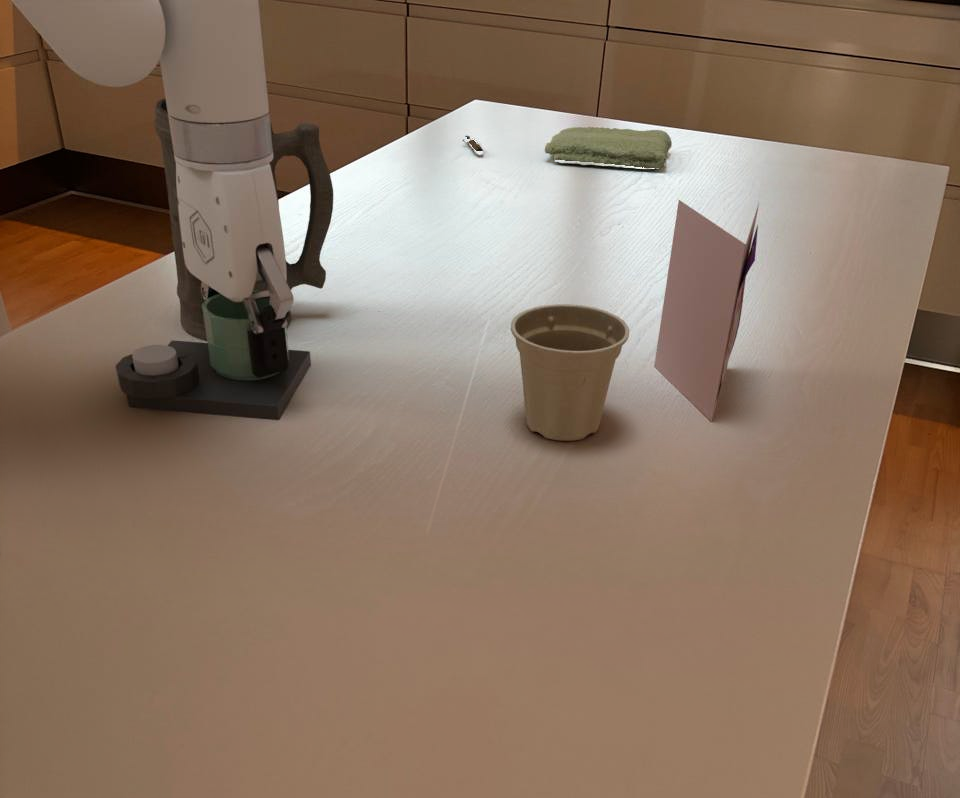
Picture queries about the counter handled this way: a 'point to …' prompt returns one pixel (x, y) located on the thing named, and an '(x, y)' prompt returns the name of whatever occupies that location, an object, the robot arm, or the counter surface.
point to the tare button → (155, 360)
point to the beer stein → (309, 151)
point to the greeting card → (702, 306)
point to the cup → (230, 337)
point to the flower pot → (567, 366)
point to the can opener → (474, 144)
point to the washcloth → (611, 146)
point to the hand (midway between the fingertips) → (249, 355)
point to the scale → (211, 386)
